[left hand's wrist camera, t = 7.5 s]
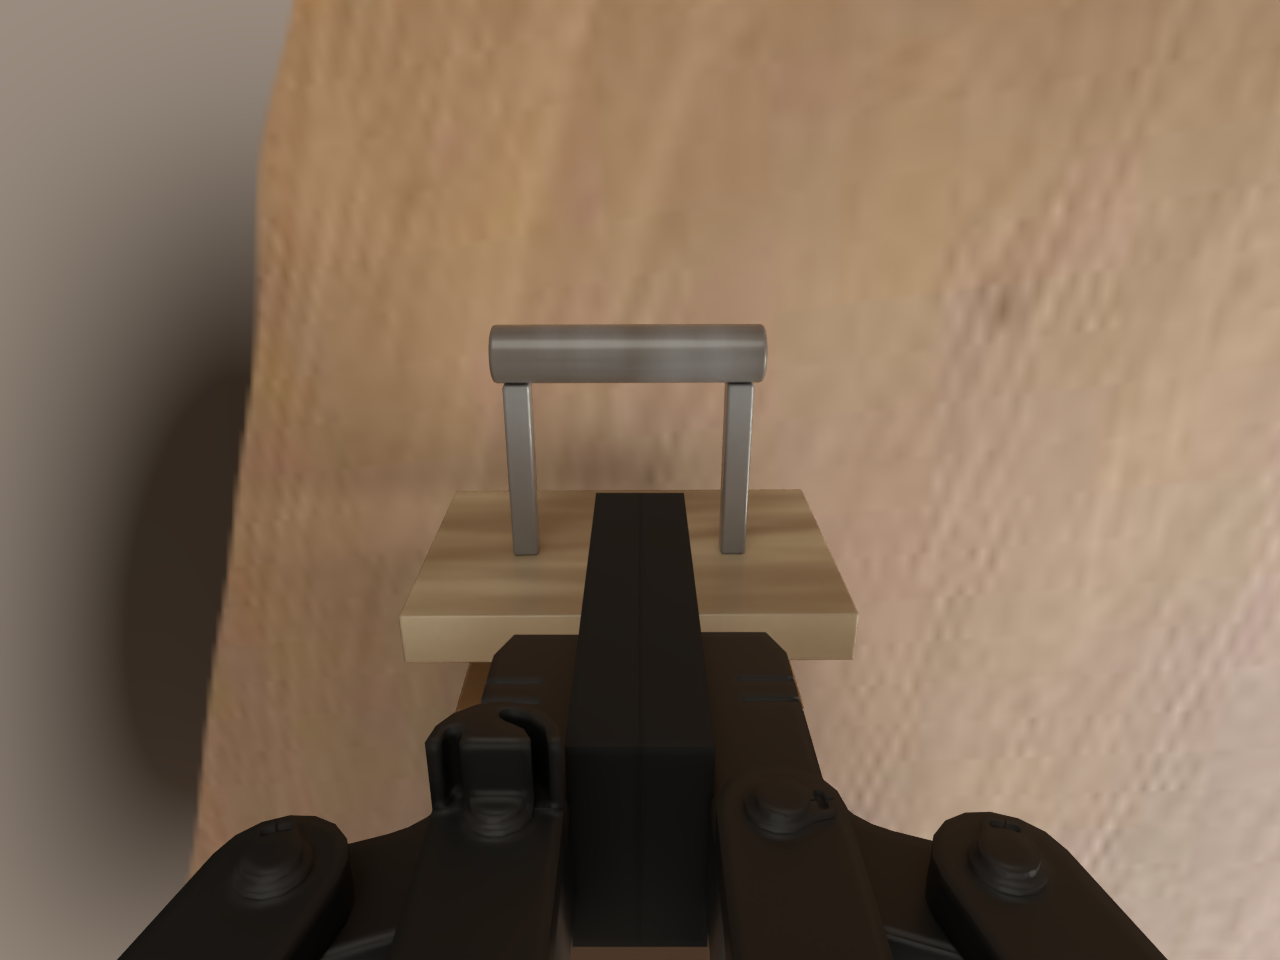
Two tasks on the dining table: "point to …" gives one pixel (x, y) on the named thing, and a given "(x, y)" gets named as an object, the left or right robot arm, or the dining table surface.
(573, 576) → the drawer
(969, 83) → the dining table surface
